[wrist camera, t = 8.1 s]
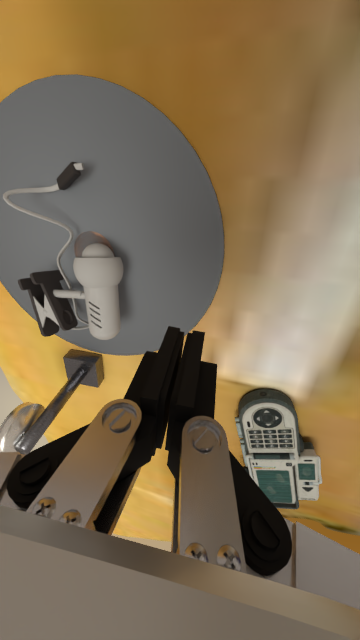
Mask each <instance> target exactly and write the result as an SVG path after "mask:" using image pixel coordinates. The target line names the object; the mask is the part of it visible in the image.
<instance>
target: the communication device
mask: <svg viewBox="0 0 360 640" xmlns="http://www.w3.org/2000/svg"><path fill="white" fill-rule="evenodd" d="M238 409H239V417H235V421H236V426H237V430H238V435H239V438H243V439H240V443H241V448H242V453H243V457H244V462H245V465H246V466H248V467H246V466H245V467H243V468H244V469H245V470H246V472H247V473H248V474H249V475H250V476H251V478H252V479H253V480H254V481H255V483H256V484H257V485H258V486H259V488H260V489H261V490H262V491H263V492H264V494H265V495H266V496H267V497H268V499H269V500H270V501H271V502H272V503H273V505H274V506H275V507H276V508H285V509H298V508H299V502H298V500H317V499H318V497H319V484H321V483H322V478H321V460H320V457H319V456H318V455H316V453H315V450H314V447H313V445H312V443H311V442H303V439H302V436H301V435H300V433H299V430H298V418H297V414H296V411H295V409H294V406H293V403H292V401H291V400H290V399H289V398H288V397H287V396H286V395H284V394H283V393H281V392H278V391H275V390H270V389H260V390H255V391H252V392H250V393H248V394H247V395H245V396H244V397H243V398H242V399H241V401H240V403H239V408H238ZM318 479H319V481H318Z"/></svg>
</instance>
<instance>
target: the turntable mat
mask: <svg viewBox="0 0 360 640" xmlns="http://www.w3.org/2000/svg"><path fill="white" fill-rule="evenodd" d="M71 162H77V163H83V165H84V170H80V172H81V175H80V176H79V177H78V178H77V179H76V180H75V181H74V182H73V183H72V184H71V185H70V186H69V187H68V188H67V189H66V190H57V191H54V192H41V193H18V194H12V195H10V196H9V198H8V199H9V200H10V201H11V202H12V203H13V204H15V205H17V206H19V207H21V208H24V209H26V210H29V211H32V212H34V213H37V214H40V215H43V216H46V217H48V218H51V219H54V220H56V221H59V222H61V223H63V224H65V225H67V226H69V228H70V229H71V230H72V231H73V235H74V237H73V240H72V242H71V243H70V245H69V246H68V248H67V249H66V250H65V252H64V253H63V255H62V256H61V260H60V263H61V267H62V269H63V271H64V273H65V274H66V276H67V278H68V280H69V282H70V284H71V286H72V289H73V290H76V291H84V287H83V285H82V284H80V282H79V281H78V280H77V278H76V276H75V274H74V269H73V263H74V259H75V258H76V257H81V256H82V252H83V250H84V249H85V248H86V247H87V246H88V245H90V244H94V243H100V244H103V245H106V246H107V247H108V248H110V249H111V251H112V252H113V254H114V257H120V258H121V260H122V263H123V276H122V279H121V281H120V283H119V284H118V293H119V308H120V324H121V329H120V331H119V333H118V334H117V335H116V336H115V337H113V338H112V339H109V340H100V339H97V338H95V337H94V336H93V335H92V334H91V333H90V330H89V328H86V329H81V330H75V329H70V330H67V331H63V330H62V329H61V328H60V326H59V331H58V332H57V333H55V335H57V336H59V337H61V338H62V339H64V340H66V341H68V342H70V343H72V344H75V345H77V346H79V347H82V348H85V349H88V350H91V351H95V352H99V353H103V354H111V355H139V354H145V353H146V351H151V352H153V351H156V350H159V349H160V346H161V344H162V341H163V339H164V336H165V334H166V331H167V329H168V326H171V327H177V328H180V331H181V332H184V336H185V335H186V334H187V333H188V332H189V331H190V330H191V329H192V328H193V327H195V326H196V324H197V323H198V322H199V321H200V319H201V318H202V317H203V316H204V314H205V313H206V311H207V309H208V307H209V306H210V304H211V302H212V300H213V298H214V295H215V293H216V291H217V288H218V284H219V281H220V277H221V273H222V267H223V259H224V232H223V224H222V217H221V212H220V208H219V204H218V200H217V197H216V193H215V191H214V188H213V186H212V183H211V181H210V178H209V176H208V173H207V171H206V170H205V168H204V166H203V164H202V162H201V161H200V159H199V157H198V155H197V153H196V152H195V150H194V149H193V148H192V146H191V145H190V144H189V142H188V141H187V139H186V138H185V137H184V135H183V134H182V133H181V131H180V130H179V129H178V128H177V127H176V126H175V125H174V124H173V123H172V122H171V121H170V120H169V119H168V118H167V117H166V116H165V115H164V114H163V113H162V112H160V111H159V110H158V109H157V108H155V107H154V106H153V105H151V104H150V103H149V102H148V101H146V100H145V99H144V98H142V97H140V96H138V95H137V94H135V93H133V92H131V91H129V90H128V89H126V88H124V87H122V86H119V85H117V84H114V83H111V82H108V81H105V80H103V79H100V78H94V77H88V76H82V75H55V76H51V77H47V78H42V79H38V80H35V81H33V82H31V83H29V84H26V85H24V86H22V87H20V88H18V89H17V90H15V91H14V92H13V93H12V94H10V95H9V96H8V97H6V98H5V99H4V100H3V101H2V102H1V103H0V281H1V283H2V284H3V285H4V287H5V288H6V289H7V291H8V292H9V293H10V295H11V296H12V297H13V298H14V299H15V300H16V302H17V303H18V304H19V305H20V306H21V307H22V308H23V309H24V310H25V311H26V312H27V313H28V314H29V315H30V316H31V317H32V318H34V319H35V320H36V321H37V319H36V315H35V312H34V309H33V306H32V303H31V299H30V296H29V293H28V290H21V289H20V287H19V284H18V280H19V279H23V278H30V274H31V273H33V272H42V271H53V270H59V268H58V265H57V256H58V254H59V252H60V251H61V249H62V248H63V247H64V245H65V244H66V243H67V242H68V240H69V238H70V233H69V231H68V230H66V229H65V228H63V227H61V226H59V225H57V224H54V223H52V222H49V221H46V220H43V219H40V218H37V217H35V216H32V215H29V214H26V213H24V212H22V211H19V210H17V209H15V208H13V207H12V206H10V205H8V204H7V203H6V201H5V200H4V199H3V194H4V193H5V192H7V191H9V190H14V189H22V188H40V187H49V186H53V185H56V184H57V180H56V179H57V177H58V176H59V175H60V174H61V173H62V172H63V171H64V169H65V168H66V167H67V166H68V165H69V164H70V163H71ZM63 278H64V277H63ZM60 283H61V285H62V288H63V290H69V287H68V285H67V283H66V281H65V279H63V280H61V281H60ZM67 299H68V301H69V303H70V305H71V308H72V310H73V312H74V314H75V310H74V305H73V300H72V298H67ZM75 300H76V305H77V311H78V315H79V317H80V318H81V319H82V320H85V321H87V322H88V316H87V309H86V301H85V299H77V298H75ZM75 316H76V315H75ZM76 319H77V317H76ZM77 321H78V325H77V326H76V327H82V326H87V324H85V323H83V322H81V321H79V320H78V319H77Z"/></svg>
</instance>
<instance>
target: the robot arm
mask: <svg viewBox="0 0 360 640" xmlns="http://www.w3.org/2000/svg"><path fill="white" fill-rule="evenodd" d="M204 335H205V332H199V331H194V330H193V333H188V334H187V338H186V342H185V346H184V350H183V354H182V348H183V340H184V332H181V331H180V328H177V327H171V326H168V329H167V331H166V334H165V336H164V339H163V341H162V344H161V346H160V349H159V351H158V353H156V352H151V351H146V353H145V354H144V356H143V359H142V361H141V363H140V365H139V367H138V369H137V371H136V374H135V376H134V378H133V380H132V382H131V384H130V386H129V388H128V391H127V393H126V395H125V397H124V399H117V400H114V401H111V402H109V403H108V404H106V405H105V406H104V407H103V408H102V409H101V410H100V412H99V413H98V414H97V416H96V417H95V418H94V420H93V421H92V422H91V423H90V424H88V425H86V426H84V427H82V428H80V429H78V430H75V431H73V432H71V433H69V434H67V435H65V436H63V437H61V438H59V439H57V440H55V441H52V442H50V443H48V444H46V445H44V446H42V447H40V448H38V449H36V450H34V451H32V452H30V453H29V454H20V452H0V640H360V555H359V554H358V553H356V552H353V551H352V550H350V549H348V548H346V547H344V546H342V545H340V544H338V543H337V542H335V541H333V540H331V539H329V538H327V537H325V536H323V535H321V534H319V533H317V532H316V531H314V530H311V529H310V528H308V527H306V526H304V525H302V524H300V523H298V522H297V521H296V522H295V523H292V522H290V521H289V520H287V519H285V518H283V517H282V515H281V514H280V512H279V511H278V510H277V508H276V507H275V506H274V505H273V503H272V502H271V501H270V500H269V499H268V497H267V496H266V495H265V494H264V492H263V491H262V490H261V489H260V488H259V486H258V485H257V484H256V483H255V481H254V480H253V479H252V478H251V476H250V475H249V474H248V473H247V472H246V470H245V469H244V468H243V467H242V465H241V464H240V463H239V462H238V461H237V459H236V458H235V457H234V456H233V454H232V453H231V452H230V451H229V449H228V442H227V437H226V433H225V431H224V429H223V427H222V426H221V425H220V424H219V423H218V422H217V421H216V420H214V410H215V393H216V375H217V364H213V363H208V362H203V361H201V355H202V348H203V341H204ZM181 356H182V358H181ZM167 423H168V428H167V437H166V447H165V450H168V451H169V454H168V462H167V466H168V467H169V469H170V471H171V472H172V474H173V476H174V498H173V521H172V545H171V552H168V551H165V550H161V549H158V548H154V547H150V546H147V545H143V544H140V543H136V542H133V541H129V540H125V539H122V538H118V537H115V536H111V535H112V533H113V531H114V528H115V526H116V524H117V522H118V519H119V517H120V515H121V513H122V510H123V508H124V506H125V504H126V501H127V499H128V497H129V495H130V492H131V490H132V488H133V486H134V483H135V481H136V479H137V477H138V475H139V472H140V469H141V467H142V466H143V465H145V464H146V463H148V462H149V461H150V460H151V457H152V456H154V455H155V451H156V448H160V449H161V447H162V444H163V440H164V436H165V432H166V427H167Z"/></svg>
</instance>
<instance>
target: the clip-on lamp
mask: <svg viewBox="0 0 360 640" xmlns="http://www.w3.org/2000/svg"><path fill="white" fill-rule="evenodd" d="M80 170H84V165H83V163H77V162H71V163H70V164H69V165H68V166H67V167H66V168H65V169H64V171H63V172H62V173H61V174H60V175H59V176H58V177H57V179H56V180H57V184H56V185H53V186H49V187H40V188H22V189H14V190H9V191H7V192H5V193H4V194H3V199H4V200H5V201H6V203H7V204H8V205H10V206H12V207H13V208H15V209H17V210H19V211H22V212H24V213H26V214H29V215H32V216H35V217H37V218H40V219H43V220H46V221H49V222H52V223H54V224H57V225H59V226H61V227H63V228H65V229H66V230H68V231H69V233H70V238H69V240H68V242H67V243H66V244H65V245H64V247H63V248H62V249H61V251H60V252H59V254H58V256H57V265H58V268H59V270H53V271H42V272H33V273H31V274H30V278H23V279H19V280H18V284H19V287H20V289H21V290H28V293H29V296H30V299H31V303H32V306H33V309H34V312H35V315H36V319H37V322H38V325H39V328H40V331H41V334H42V335H43V336H51V335H53V334H55V333H57V332H58V331H59V326H60V328H61V329H62V330H63V331H67V330H70V329H75V330H81V329H86V328H89V330H90V333H91V334H92V335H93V336H94V337H95V338H97V339H100V340H109V339H112V338H113V337H115V336H116V335H117V334H118V333H119V331H120V329H121V324H120V308H119V293H118V284H119V283H120V281H121V279H122V276H123V263H122V260H121V258H120V257H114V254H113V252H112V251H111V249H110V248H108V247H107V246H106V245H103V244H100V243H94V244H90V245H88V246H87V247H86V248H85V249H84V250H83V252H82V256H81V257H76V258H75V259H74V263H73V269H74V274H75V276H76V278H77V280H78V281H79V282H80V284H82V285H83V287H84V291H76V290H73V289H72V286H71V284H70V282H69V280H68V278H67V276H66V274H65V273H64V271H63V269H62V267H61V263H60V260H61V256H62V255H63V253H64V252H65V250H66V249H67V248H68V246H69V245H70V243H71V242H72V240H73V237H74V235H73V231H72V230H71V229H70V228H69V226H67V225H65V224H63V223H61V222H59V221H56V220H54V219H51V218H48V217H46V216H43V215H40V214H37V213H34V212H32V211H29V210H26V209H24V208H21V207H19V206H17V205H15V204H13V203H12V202H11V201H10V200H9V199H8V198H9V196H10V195H12V194H18V193H41V192H54V191H57V190H66V189H67V188H68V187H69V186H70V185H71V184H72V183H73V182H74V181H75V180H76V179H77V178H78V177H79V176H80V175H81V172H80ZM63 277H64V278H63ZM63 279H65V281H66V283H67V285H68V287H69V290H63V288H62V285H61V283H60V281H61V280H63ZM67 298H72V300H73V305H74V310H75V314H74V312H73V310H72V308H71V305H70V303H69V301H68V299H67ZM75 298H77V299H85V301H86V309H87V316H88V322H87V321H85V320H82V319H81V318H80V317H79V315H78V311H77V305H76V300H75ZM75 315H76V316H75ZM76 317H77V319H78V320H79V321H81V322H83V323H85V324H87V326H82V327H76V326H77V325H78V321H77V319H76Z"/></svg>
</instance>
